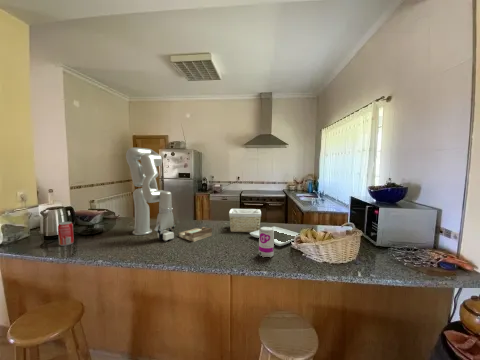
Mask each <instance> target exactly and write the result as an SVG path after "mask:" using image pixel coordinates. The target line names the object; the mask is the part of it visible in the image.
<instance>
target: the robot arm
mask: <svg viewBox="0 0 480 360" xmlns="http://www.w3.org/2000/svg"><path fill="white" fill-rule="evenodd" d="M125 159H126V163H127V164H128V166H129V170H130V176H131V180H132V184H133V186H134V187H138V188H137V189H134V191H133V192H132V197H133V203H134V226H133V227H134V230H132V234H133V235H135V236H143V235H148V234H151V233H152V232H153V230H154V231H156V233H157V232H158V233H159V239H160V240H159V239H158V240H159V241H164V240H163V234H162V232H163V231H164V229H165V230H166V229H168V231H170V232H174V229H175V227H176V225H177V224H176V222H175V221H174V219H175V218H174V213H173V210H174V208H173V205H172V204H173V203H172V201H173V199H172V192H171V191H166V190H164V189H159V188H158V183H157V178H158V177H159V171H158V168H157V167H160V166H162V164H163V158H162V156H161V155H160V154H159V153H158V152H156V151H154V150H153V149H151V148H146V147H145V148H144V147H130V148H128V149H127V151H126V153H125ZM157 202H159V203H158V210H159V211H158V212H159V213H157V217H156V226H155V228H154V229H152V228H150V226H151V225H150V224H151V223H150V222H151V221H150V215H151V214H150V205H149V204H150V203H151V204H152V203H153V204H154V203H157ZM148 203H149V204H148ZM158 229H159V230H158ZM158 233H157V234H158Z"/></svg>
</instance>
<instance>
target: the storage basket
mask: <svg viewBox="0 0 480 360" xmlns="http://www.w3.org/2000/svg"><path fill="white" fill-rule="evenodd" d="M228 217H229V224H230V232H232V233H251V232H254V231H258V230H260V228H261V219H262V218H261V217H262V211H261V209H258V208H257V209H256V208H231V209H230V210H229V212H228Z"/></svg>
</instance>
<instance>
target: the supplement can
mask: <svg viewBox="0 0 480 360" xmlns="http://www.w3.org/2000/svg"><path fill="white" fill-rule="evenodd" d="M271 227H272V226H262V227H261V226H260V230H259V239H258V255H259V256H260V257H261V256H262V257H261V258H264V257H270V258H272V257H273V256H274V255H275V254H274V252H275V245H274V230H273V228H271Z"/></svg>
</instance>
